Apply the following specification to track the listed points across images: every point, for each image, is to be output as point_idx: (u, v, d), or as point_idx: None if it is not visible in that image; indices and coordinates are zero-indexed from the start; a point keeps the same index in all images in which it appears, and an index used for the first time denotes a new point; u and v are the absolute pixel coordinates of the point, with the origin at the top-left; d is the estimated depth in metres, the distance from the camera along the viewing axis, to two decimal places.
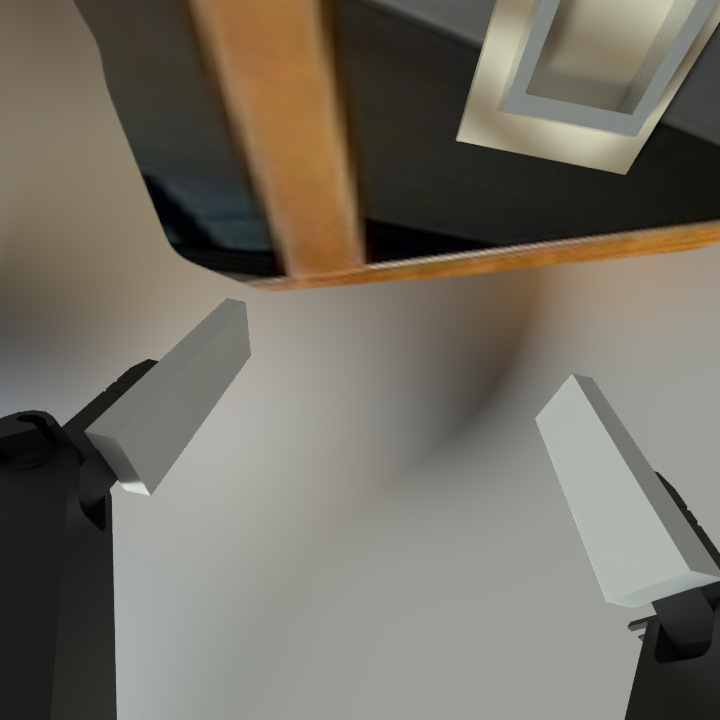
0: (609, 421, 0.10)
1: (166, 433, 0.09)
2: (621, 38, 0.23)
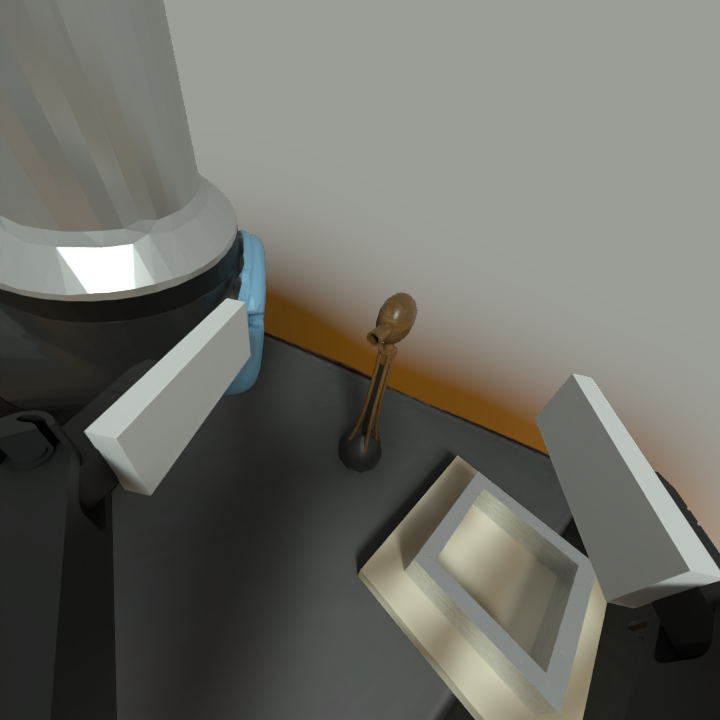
0: (609, 421, 0.10)
1: (166, 433, 0.09)
2: (500, 555, 0.27)
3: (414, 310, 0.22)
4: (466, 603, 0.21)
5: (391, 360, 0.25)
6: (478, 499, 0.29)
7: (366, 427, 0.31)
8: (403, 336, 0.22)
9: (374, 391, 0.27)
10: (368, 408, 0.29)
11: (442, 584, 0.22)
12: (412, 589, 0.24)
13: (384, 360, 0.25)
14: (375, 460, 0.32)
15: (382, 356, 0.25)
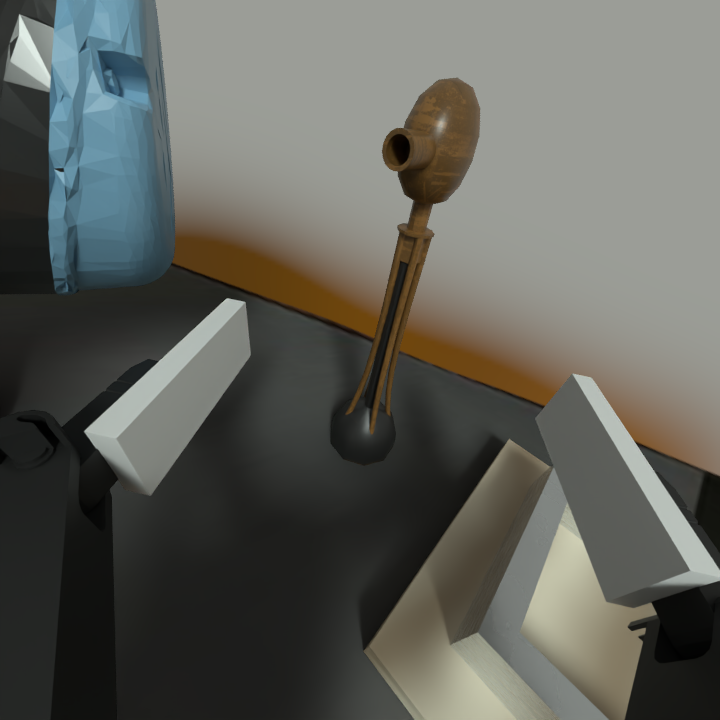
0: (609, 421, 0.10)
1: (166, 433, 0.09)
2: (611, 604, 0.15)
3: (478, 118, 0.10)
4: None
5: (421, 255, 0.14)
6: None
7: (373, 393, 0.19)
8: (453, 180, 0.11)
9: (388, 323, 0.16)
10: (377, 358, 0.18)
11: (544, 691, 0.10)
12: (471, 685, 0.12)
13: (409, 252, 0.13)
14: (387, 446, 0.21)
15: (406, 244, 0.13)
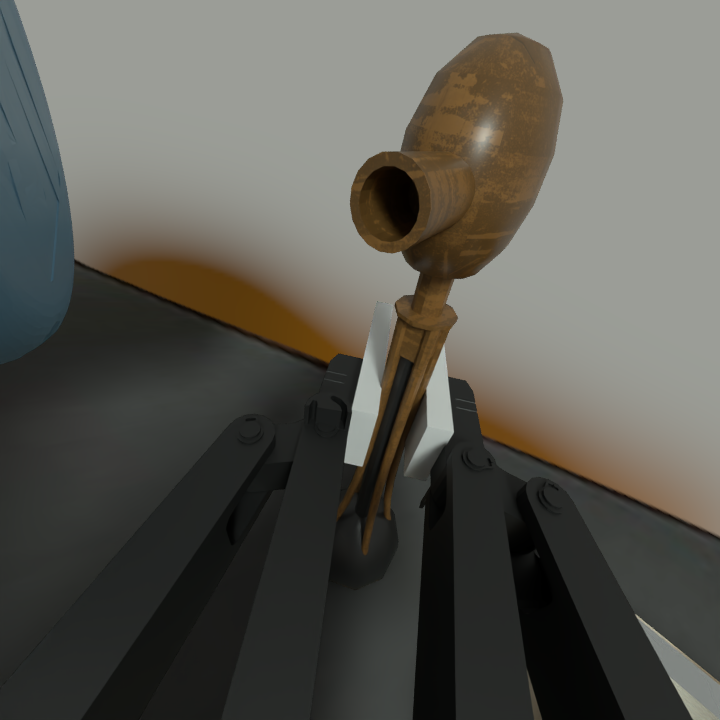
0: None
1: None
2: None
3: (558, 119, 0.05)
4: None
5: (436, 347, 0.08)
6: None
7: (366, 503, 0.14)
8: (503, 242, 0.06)
9: (384, 432, 0.10)
10: (369, 467, 0.12)
11: None
12: None
13: (416, 346, 0.08)
14: (387, 564, 0.15)
15: (410, 334, 0.08)
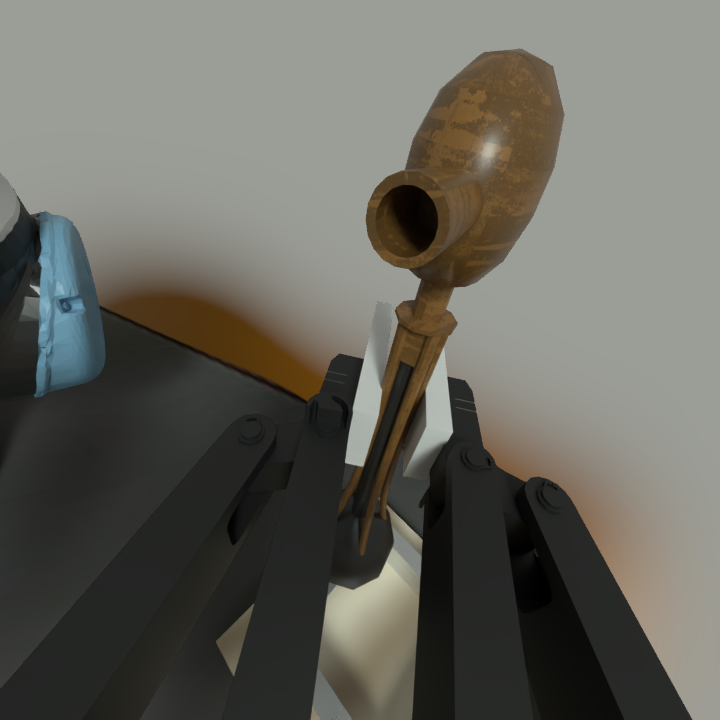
0: None
1: None
2: (393, 614, 0.23)
3: (559, 133, 0.05)
4: (319, 693, 0.18)
5: (435, 351, 0.08)
6: None
7: (363, 504, 0.14)
8: (505, 252, 0.06)
9: (382, 434, 0.11)
10: (367, 469, 0.12)
11: None
12: None
13: (417, 352, 0.08)
14: (383, 563, 0.16)
15: (410, 339, 0.08)
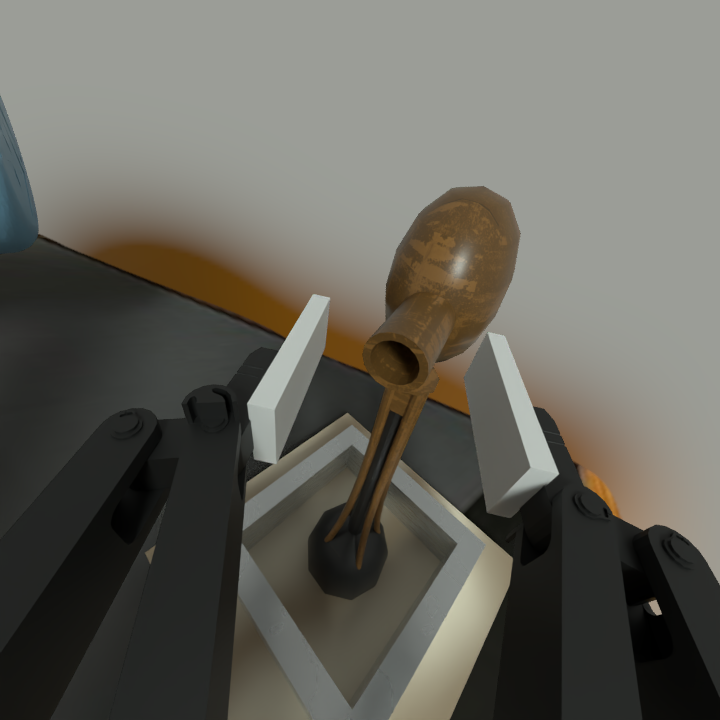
0: (506, 367, 0.11)
1: (289, 410, 0.10)
2: None
3: (517, 246, 0.06)
4: (259, 598, 0.14)
5: None
6: (351, 461, 0.22)
7: (359, 523, 0.15)
8: (477, 338, 0.07)
9: (375, 467, 0.12)
10: (362, 495, 0.13)
11: None
12: None
13: (404, 404, 0.09)
14: (379, 574, 0.17)
15: (398, 394, 0.09)
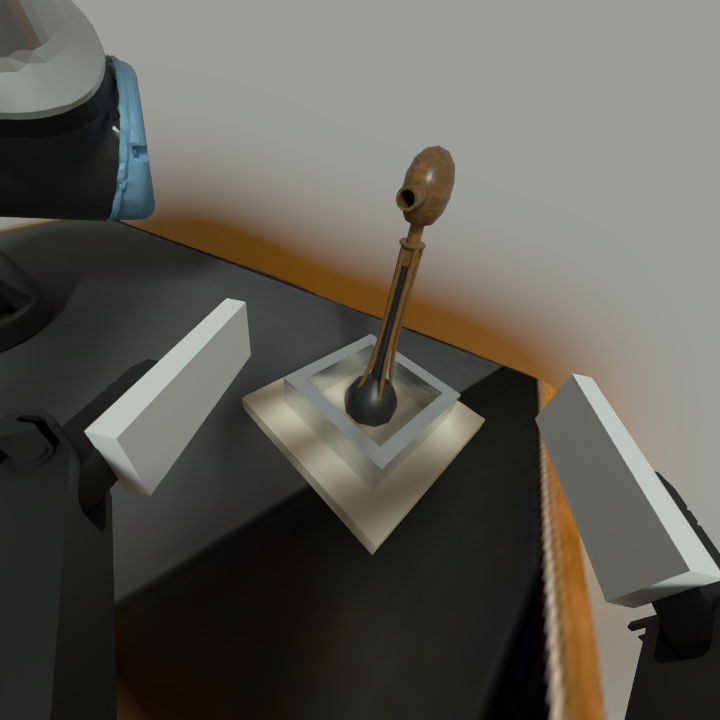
0: (609, 421, 0.10)
1: (166, 433, 0.09)
2: None
3: (454, 170, 0.16)
4: (322, 404, 0.23)
5: (417, 260, 0.19)
6: None
7: (380, 367, 0.24)
8: (439, 211, 0.16)
9: (392, 311, 0.21)
10: (383, 339, 0.23)
11: (304, 392, 0.24)
12: (288, 412, 0.26)
13: (409, 259, 0.19)
14: (392, 411, 0.26)
15: (406, 253, 0.18)
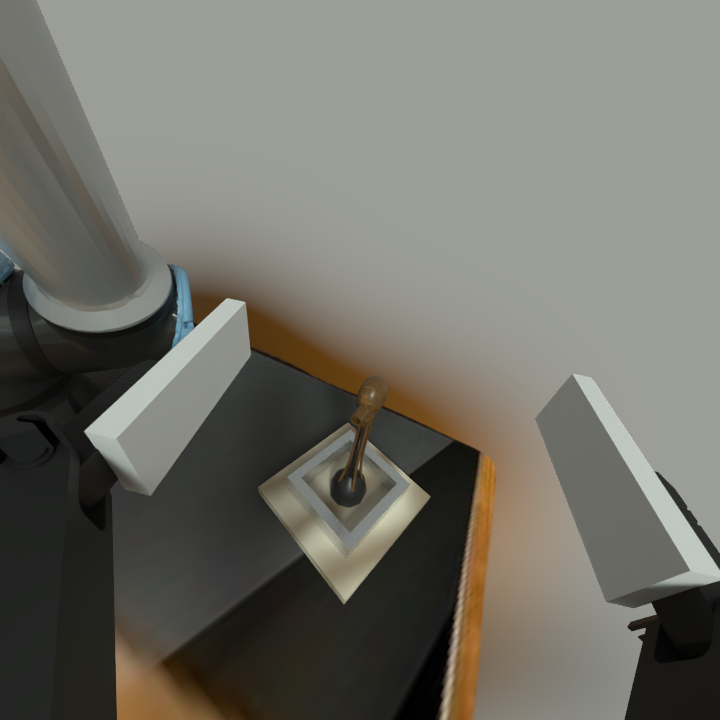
0: (609, 421, 0.10)
1: (166, 433, 0.09)
2: None
3: (386, 390, 0.28)
4: (313, 499, 0.35)
5: (370, 423, 0.31)
6: (349, 448, 0.43)
7: (352, 471, 0.36)
8: None
9: (357, 445, 0.33)
10: (353, 457, 0.35)
11: (301, 489, 0.36)
12: (290, 498, 0.38)
13: (364, 424, 0.30)
14: (362, 496, 0.38)
15: (363, 421, 0.30)
